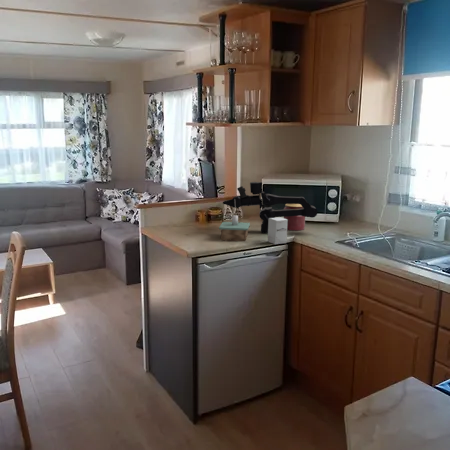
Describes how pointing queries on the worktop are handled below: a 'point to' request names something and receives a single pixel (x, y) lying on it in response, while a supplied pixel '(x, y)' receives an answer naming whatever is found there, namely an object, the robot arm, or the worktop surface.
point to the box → (234, 235)
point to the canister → (295, 218)
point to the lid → (234, 224)
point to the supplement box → (277, 230)
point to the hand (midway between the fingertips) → (223, 202)
